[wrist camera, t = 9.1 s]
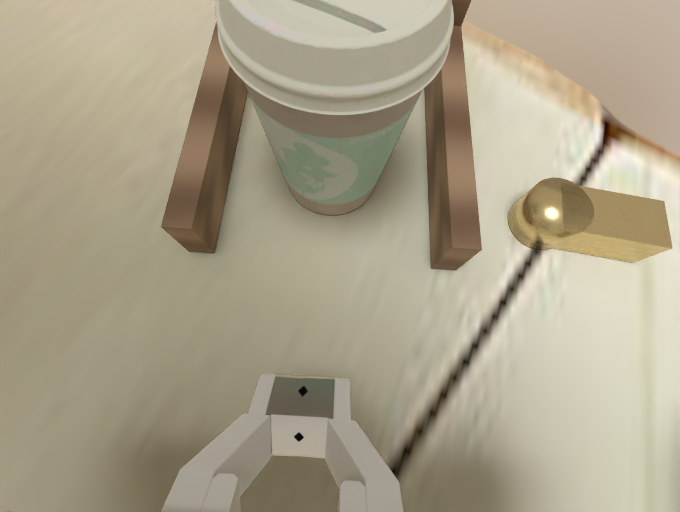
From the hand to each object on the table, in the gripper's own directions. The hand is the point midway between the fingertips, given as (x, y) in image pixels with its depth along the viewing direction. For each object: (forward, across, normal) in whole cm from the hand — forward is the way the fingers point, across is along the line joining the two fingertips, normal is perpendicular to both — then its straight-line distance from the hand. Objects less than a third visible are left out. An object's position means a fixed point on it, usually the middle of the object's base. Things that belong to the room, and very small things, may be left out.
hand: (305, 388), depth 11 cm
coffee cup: (+14, 0, -4) cm, 14 cm away
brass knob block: (+12, -16, -2) cm, 20 cm away
